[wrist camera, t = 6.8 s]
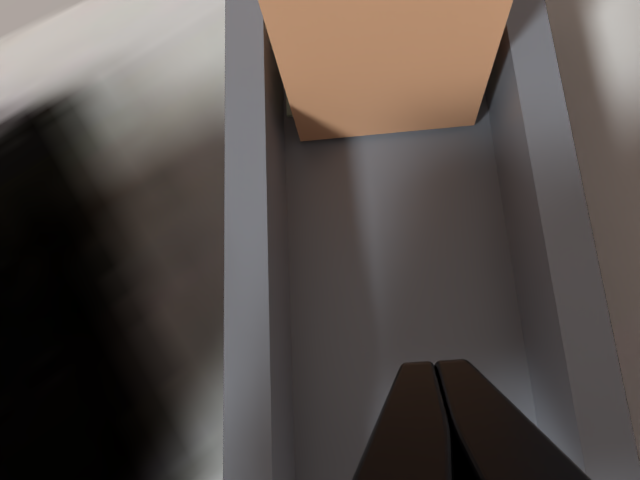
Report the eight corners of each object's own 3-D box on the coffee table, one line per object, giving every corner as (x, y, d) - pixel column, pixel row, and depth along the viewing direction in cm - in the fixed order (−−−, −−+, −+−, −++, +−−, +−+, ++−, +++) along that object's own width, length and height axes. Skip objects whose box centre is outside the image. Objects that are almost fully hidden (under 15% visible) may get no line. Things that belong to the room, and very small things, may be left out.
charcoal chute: (588, 547, 14) (666, 597, 10) (264, 556, 14) (222, 605, 11) (497, 17, 18) (527, -87, 15) (256, 43, 19) (225, -49, 15)
